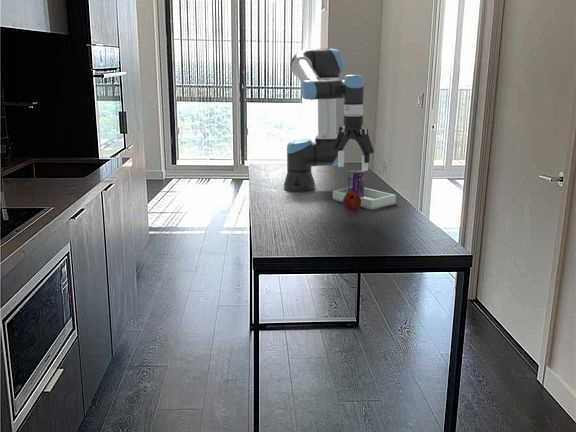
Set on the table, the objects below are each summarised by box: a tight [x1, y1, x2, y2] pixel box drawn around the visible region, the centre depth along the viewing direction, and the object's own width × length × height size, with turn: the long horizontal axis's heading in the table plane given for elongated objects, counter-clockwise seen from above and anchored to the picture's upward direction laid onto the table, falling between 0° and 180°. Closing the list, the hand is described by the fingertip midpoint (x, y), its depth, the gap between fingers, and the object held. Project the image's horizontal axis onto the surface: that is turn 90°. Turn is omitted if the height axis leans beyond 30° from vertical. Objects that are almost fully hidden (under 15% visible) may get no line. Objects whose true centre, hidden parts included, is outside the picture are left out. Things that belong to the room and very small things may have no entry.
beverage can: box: [347, 169, 365, 197], centre depth 247 cm, size 7×7×12 cm
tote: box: [332, 187, 397, 211], centre depth 244 cm, size 24×15×4 cm, turn 38°
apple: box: [342, 192, 361, 212], centre depth 230 cm, size 7×8×8 cm
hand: (352, 168), depth 226 cm, fingers open, 13 cm apart
